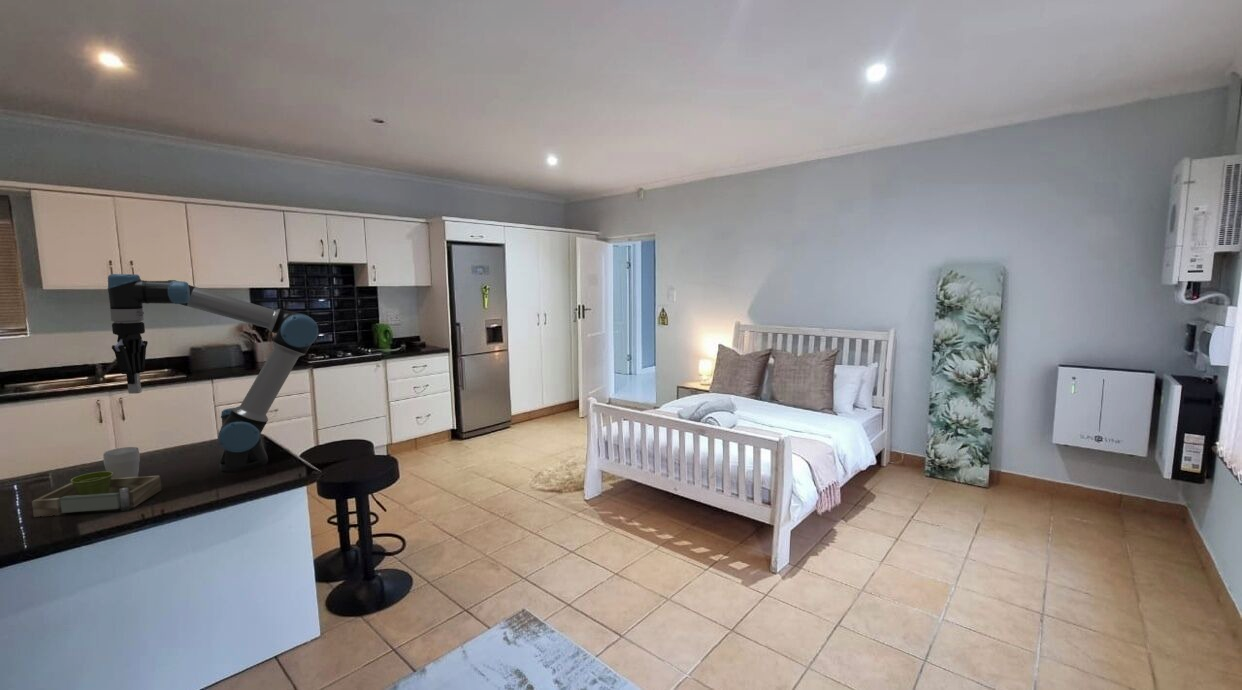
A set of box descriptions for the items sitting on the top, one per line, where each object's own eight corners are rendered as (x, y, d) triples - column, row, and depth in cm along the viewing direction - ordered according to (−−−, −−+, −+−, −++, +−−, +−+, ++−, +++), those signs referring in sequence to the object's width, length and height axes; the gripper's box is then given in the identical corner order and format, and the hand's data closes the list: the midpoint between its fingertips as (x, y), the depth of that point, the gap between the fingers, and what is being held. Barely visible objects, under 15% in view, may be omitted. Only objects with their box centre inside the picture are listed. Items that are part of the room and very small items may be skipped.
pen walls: (162, 489, 171) (161, 475, 171) (129, 510, 156) (127, 495, 155) (77, 494, 165) (75, 480, 165) (33, 517, 150) (31, 501, 149)
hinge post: (132, 508, 157) (129, 486, 156) (127, 510, 155) (125, 489, 154) (124, 508, 157) (122, 487, 156) (119, 511, 155) (117, 489, 154)
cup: (119, 490, 169) (115, 456, 168) (98, 487, 171) (95, 454, 170) (149, 480, 178) (146, 448, 177) (129, 477, 180) (126, 445, 178)
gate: (121, 506, 156) (119, 492, 156) (117, 508, 155) (116, 494, 154) (65, 510, 152) (63, 496, 152) (61, 513, 151) (59, 498, 151)
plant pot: (93, 496, 165) (90, 471, 164) (123, 496, 165) (121, 470, 164) (64, 508, 156) (61, 482, 154) (96, 508, 156) (93, 482, 155)
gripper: (127, 323, 156) (135, 397, 159) (155, 320, 169) (161, 388, 172) (98, 323, 154) (106, 397, 157) (128, 320, 167) (135, 389, 170)
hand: (135, 392), depth 164 cm, fingers closed
